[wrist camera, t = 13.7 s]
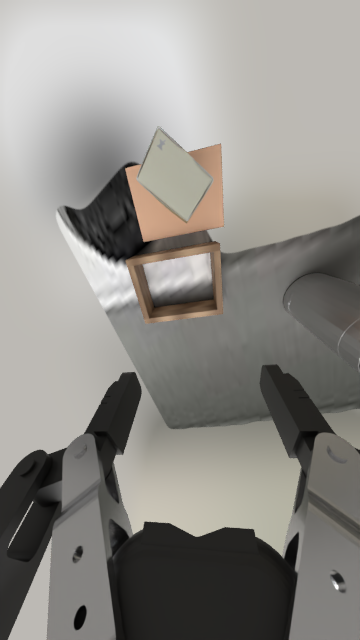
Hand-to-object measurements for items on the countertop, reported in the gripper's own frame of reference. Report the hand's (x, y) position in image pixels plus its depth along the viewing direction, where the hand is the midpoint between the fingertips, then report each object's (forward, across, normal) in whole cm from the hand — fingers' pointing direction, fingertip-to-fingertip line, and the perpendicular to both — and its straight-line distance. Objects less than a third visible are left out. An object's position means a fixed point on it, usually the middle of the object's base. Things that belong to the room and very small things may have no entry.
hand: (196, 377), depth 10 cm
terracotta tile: (+25, +1, -13) cm, 28 cm away
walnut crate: (+25, +3, 0) cm, 25 cm away
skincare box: (+24, +1, -13) cm, 27 cm away
